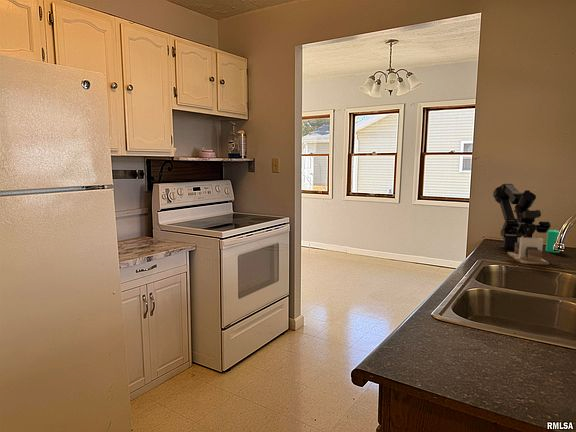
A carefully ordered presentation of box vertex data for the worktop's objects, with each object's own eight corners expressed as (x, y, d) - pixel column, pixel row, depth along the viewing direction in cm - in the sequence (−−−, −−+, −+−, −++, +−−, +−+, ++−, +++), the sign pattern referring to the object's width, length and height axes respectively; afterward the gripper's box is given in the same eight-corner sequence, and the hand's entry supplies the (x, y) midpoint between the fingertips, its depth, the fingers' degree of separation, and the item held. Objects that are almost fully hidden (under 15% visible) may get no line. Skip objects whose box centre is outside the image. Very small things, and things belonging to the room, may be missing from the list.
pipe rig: (507, 253, 192) (508, 242, 191) (532, 255, 190) (533, 243, 189) (521, 263, 174) (522, 250, 173) (548, 264, 172) (550, 251, 171)
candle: (555, 250, 202) (558, 227, 200) (562, 252, 196) (565, 229, 194) (543, 249, 202) (545, 226, 201) (549, 252, 196) (552, 228, 195)
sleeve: (518, 256, 181) (520, 237, 180) (538, 257, 179) (541, 238, 178) (521, 258, 178) (523, 238, 177) (542, 259, 176) (544, 239, 175)
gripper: (507, 202, 184) (513, 230, 175) (551, 204, 181) (560, 232, 171) (500, 217, 193) (505, 243, 184) (542, 219, 189) (550, 246, 180)
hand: (530, 241), depth 179 cm, fingers closed, pressing on sleeve
